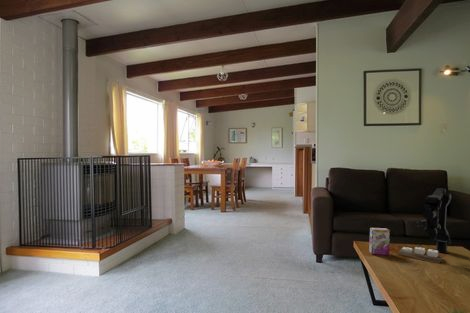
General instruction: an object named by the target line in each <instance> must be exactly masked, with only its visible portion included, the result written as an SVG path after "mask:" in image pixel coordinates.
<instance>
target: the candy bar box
mask: <svg viewBox="0 0 470 313" xmlns="http://www.w3.org/2000/svg"><path fill="white" fill-rule="evenodd" d="M390 234H391V229H388V228H387V227H386V228H385V227H384V228H382V227H381V228H380V227H370V228H369V246H368V247H369V249H368V252H369V253H370V254H371V255H379V256H381V255H382V256H390V241H391V239H390V238H391V235H390Z"/></svg>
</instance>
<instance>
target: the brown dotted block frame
mask: <svg viewBox="0 0 470 313" xmlns="http://www.w3.org/2000/svg"><path fill="white" fill-rule="evenodd" d="M402 248H403V247H401V248H400V250H399V251H398V256H400V257H401V256H402V257H406V258H411V259H416V260H421V261H425V262H430V263H431V262H432V263H435V264H440V263H441V261H442V257H443V255H442V254H438V257H437V258H436V257H431V256H427V251H425V254H424V255H421V254H416V253H414V250H415V249H412V253H409V252H404V251H402Z"/></svg>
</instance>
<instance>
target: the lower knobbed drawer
mask: <svg viewBox="0 0 470 313" xmlns="http://www.w3.org/2000/svg"><path fill="white" fill-rule="evenodd" d="M426 252H427V256H431V257H436V258H437V257H438V255H439V252H438V251H437V250H436V249H432V248H431V249H430V248H429V249H428V250H427V251H426Z"/></svg>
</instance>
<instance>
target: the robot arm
mask: <svg viewBox="0 0 470 313" xmlns="http://www.w3.org/2000/svg"><path fill="white" fill-rule="evenodd" d="M451 200H452V194H451V192H450V191H447V189H446V188H440V187H439V188H438V187H437V188H435V190H434V192H433V194H431V195H430V194H429V195H427V196H426V197H425V199H424V204H423V208H425V210H423V212H422V216H423V218H424V219H423V220H417V221H416V222H415V224H416V226H417V228H421V227H425V228H424V229H423V233H427V234H428V235H429V239H430V242H431V243H434V242H436V248H435V250H437V251H438V253H443V254H447V253H448V251H449V250H448V249H447V248H448V246H447V245H451V238H450V235H449V231H448V230H447V228H446V227H447V226H446V225H447V211H448V210H447V208H448V206H449V204H450V203H451Z"/></svg>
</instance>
